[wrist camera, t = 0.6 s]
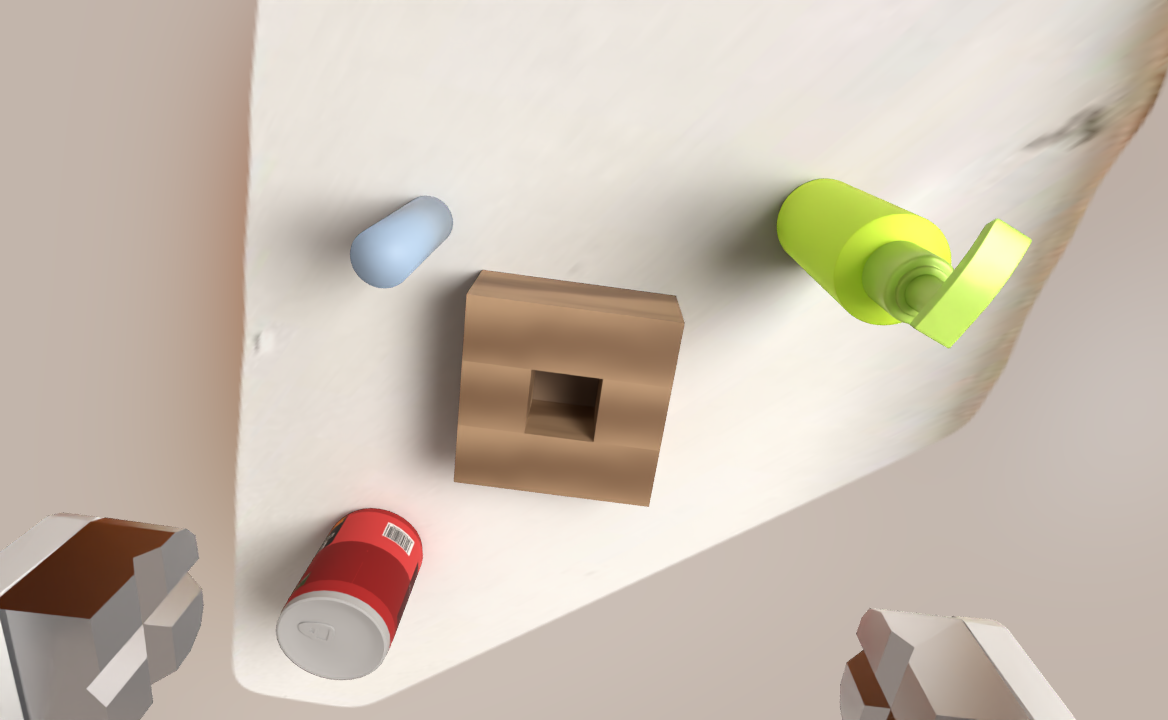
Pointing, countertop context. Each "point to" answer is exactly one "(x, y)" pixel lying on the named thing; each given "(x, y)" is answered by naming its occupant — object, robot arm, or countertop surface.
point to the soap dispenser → (894, 259)
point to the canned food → (352, 596)
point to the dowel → (400, 242)
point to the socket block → (565, 387)
